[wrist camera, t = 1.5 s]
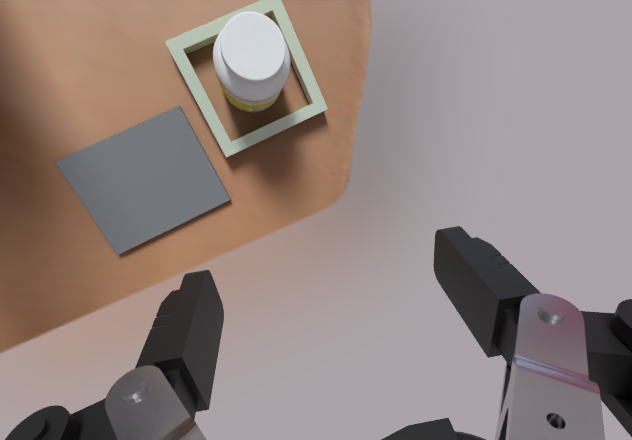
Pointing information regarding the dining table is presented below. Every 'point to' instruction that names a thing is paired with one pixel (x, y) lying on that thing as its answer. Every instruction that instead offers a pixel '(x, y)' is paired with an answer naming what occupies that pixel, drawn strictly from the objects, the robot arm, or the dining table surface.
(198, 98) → the pale green square frame
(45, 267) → the dining table surface
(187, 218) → the mat
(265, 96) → the supplement bottle
